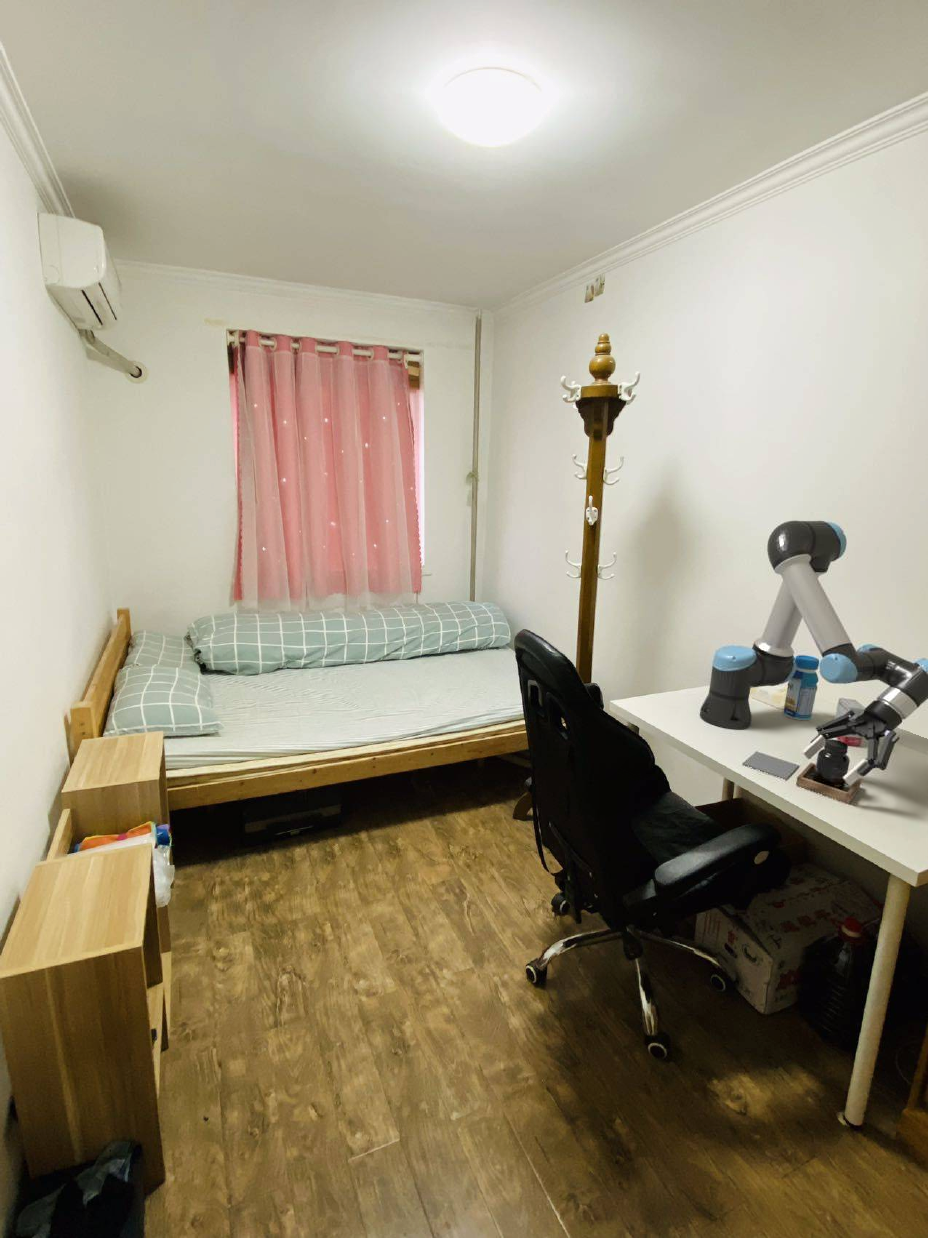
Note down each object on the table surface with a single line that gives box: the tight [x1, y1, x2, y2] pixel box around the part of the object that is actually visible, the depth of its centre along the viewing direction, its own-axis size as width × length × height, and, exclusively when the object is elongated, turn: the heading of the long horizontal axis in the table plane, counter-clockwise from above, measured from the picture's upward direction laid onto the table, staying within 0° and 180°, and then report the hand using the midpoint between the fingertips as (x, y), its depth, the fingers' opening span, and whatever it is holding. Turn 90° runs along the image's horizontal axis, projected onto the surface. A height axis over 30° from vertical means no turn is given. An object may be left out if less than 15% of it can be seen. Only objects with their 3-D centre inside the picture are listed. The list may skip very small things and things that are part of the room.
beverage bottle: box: [782, 654, 820, 721], centre depth 195 cm, size 8×8×20 cm
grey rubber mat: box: [741, 751, 800, 781], centre depth 162 cm, size 11×11×1 cm
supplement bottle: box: [812, 738, 851, 791], centre depth 151 cm, size 7×7×12 cm
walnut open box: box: [795, 762, 862, 805], centre depth 152 cm, size 12×12×2 cm
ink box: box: [834, 697, 866, 747], centre depth 179 cm, size 9×5×12 cm, turn 168°
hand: (825, 768), depth 150 cm, fingers open, 13 cm apart
